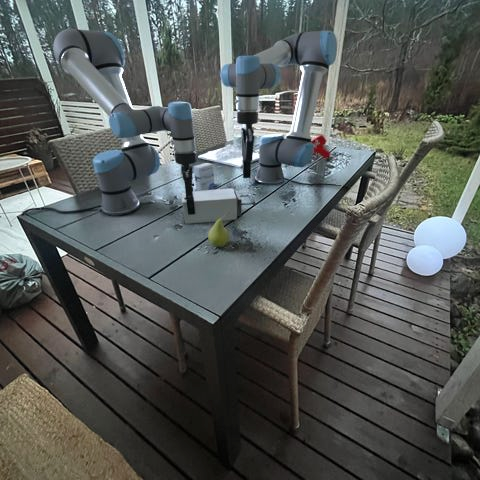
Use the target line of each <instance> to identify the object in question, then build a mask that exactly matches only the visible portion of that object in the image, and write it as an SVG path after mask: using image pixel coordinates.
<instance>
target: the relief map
mask: <svg viewBox="0 0 480 480" xmlns="http://www.w3.org/2000/svg"><path fill="white" fill-rule="evenodd" d="M197 158H198V159H202V160H206V161H210V162H213V163H218V164H223V165H226V166H227V165H228V166H232V167H235V168H236V167H237V168H243V162H242V160H243V157H242V148H239V147H237V145H236V144H234V143H233V144H231V143H229V144H227V145H226V146H223V147H221V148H218V149H216V150H209V151H207V152H206V153H203V154H200V155H198V156H197ZM257 161H259V153H257V152H254V151H253V156H252V161H251V164H252V163H254V162H257Z"/></svg>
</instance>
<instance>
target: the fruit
mask: <svg viewBox="0 0 480 480" xmlns="http://www.w3.org/2000/svg"><path fill="white" fill-rule="evenodd" d="M228 214H229V212H228V213H227V214H226V215H225V216H227V215H228ZM225 216H224V217H225ZM224 217H222V218H220V219H219V220H217V221H215V223H214V224H213V226H212V227H211V229H209V231H208V234H207V238H208V241H209V243H210V244H211V245H212V246H213V247H215V248H222V247H225V245H227V243H228V241H229V239H230V233H229V231H228V230H227V229H226V228H225V227H224V224H223V223H224V222H223V218H224Z"/></svg>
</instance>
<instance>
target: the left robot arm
mask: <svg viewBox="0 0 480 480" xmlns="http://www.w3.org/2000/svg"><path fill="white" fill-rule="evenodd" d="M52 49H53V55H54V57H55V60H56V62H57V64H58V65H59V66H60V68H61V69H62V70H63V71H64V72H65V74H67V75H68V76H70V77H73V78H74V79H75V80H76V82H78V84H79V85H80V86H81V87H82V88H83V89H84V90H85V91H86V92H87V94H88V95H89V96H90V97H91V98H92V99H93V101H95V102H96V104H97V105H98V106H99V107H100V108H101V109H102V110H103V112H104V113H105V114H106V115H107V116H108V124H109V127H110V129H111V132H112V133H113V135H114V136H115V137H117V138H118V139H120V140H121V142H122V145H121V147H120V149H111V150H105V151H103V152H100V153H98V154H96V155H95V156H94V157H93V159H92V165H93V172H94V173H95V176H96V179H97V183H98V185H99V189H100V192H101V201H100V202H101V204H98V205H94V206H90V207H86V208H81V209H75V210H59V209H56V208H54V207H50V206H49V207H47V206H46V207H31V208H27V209H25V210H24V211H23V212H21V214H20V216H24V215H26V214H27V213H28V212H33V211H45V210H49V211H54V212H56V213H59V214H76V213H81V212H87V211H92V210H94V209H98V208H100V209H101V211H102V213H103V215H106V216H108V217H109V216H110V217H119V216H120V217H121V216H125V215H128V214H131V213H134V212H136V211H138V209H139V208H140V207H141V205H140V200H139V199H138V197H137V196H136V194H135V192H134V190H133V189H132V185H131V182H133V181H135V180H138V179H142V178H145V177H149V176H151V175H153V174H156V173H158V171H159V169H160V166H161V159H160V158H161V157H160V154H159V152H158V150H157V149H156V148H155V147H154V146H152V145H150V143H149V141H148V140H146V139H145V138H144V137H143V135H146V134H153V133H158V132H165V131H166V132H170V133H171V139H172V141H171V143H170V144H171V146H173V151H174V154H173V155H174V161H175V163H176V164H178V165H181V168H180V169H181V174H182V181H183V182H184V192H186V198H184V200H186V201H187V209H188V215H192V214H195V206H194V197H193V191H194V187H195V182H193V179H194V178H193V173H194V169H193V165H194V164H195V163H197V151H196V150H197V149H196V137H195V130H194V116H193V110H192V105H191V103H189V102H187V101H172V102H169V103H168V104H167V107H164V106H160V105H155V106H154V105H152V106H150V107H147V108H144V109H142V108H141V109H134V107H133V105H132V102H131V99H130V97H129V93H128V91H127V89H126V85H125V82H124V80H123V78H122V77H123V76H122V75H123V72H124V68H123V67H124V66H125V65H126V64H125V63H126V59H125V52H124V48H123V46H122V44H121V42H120V40H119V39H118V38H117V37H116V35H114V34H112V33H111V32H108V31H103V30H89V29H80V28H79V29H76V28H66V29H63V30H61V31H60V32H58V34H57V35H56V36H55V37H54V41H53V47H52ZM191 164H192V165H191ZM40 208H41V209H40Z"/></svg>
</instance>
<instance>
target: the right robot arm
mask: <svg viewBox="0 0 480 480" xmlns="http://www.w3.org/2000/svg"><path fill="white" fill-rule="evenodd" d="M337 53H338V41H337V37H336V34H335V32H334V31H332V30H324V29H322V30H315V31H303V32H301V31H300V32H296V33H293V34H291V35H289V36H286V37H284V38H282V39H279V40H277V41H276V42H274V45H273V46H271V47H269V48H267V49H264V50H263V51H260V52H258V53H256V54H254V55H239V56H237V57H236V60H235V63H226V64H224V65H223V66H222V67H221V69H220V76H219V77H220V81H221V83H222V85H223V86H224V87H226V88H231V89H233V88H234V89H235V91H236V93H235V96H236V97H235V98H236V99H234V103H235V106H236V107H235V108H236V110H237V111H236V114H235V116H236V118H235V120H236V123H237V124H239V125H242V127H241V128H240V138H241V139H240V140H241V150H242V157H243V160H242V162H243V166H242V178H243V179H251V174H252V163H251V161H252V156H253V152H254V144H255V143H254V142H255V135H254V133H255V130H254V128H253V125H256V124H258V122H259V111H258V110H259V109H260V108H259V107H260V106H259V105H260V90H270V89H273V88H276V87H277V86H278V85H279V84H280V82H281V79H282V72H281V69H280V68H283V67H286V66H299V69H300V71H301V72H302V74H301V79H300V84H299V89H298V94H297V100H296V104H295V109H294V114H293V120H292V123H291V129H290V131H289V132H288V133H287V134H286V138H285V135H284V134H283V133H271V134H266V135H263V136H261V137H260V139H259V153H258V154H259V160H258V167H257V170H256V173H255V177H254V181H255V183H258V184H259V185H262V186H263V185H264V186H279V185H281V184H283V183H284V181H288V182H291V183H294V184H298V185H302V186H332V187H333V186H334V187H342V186H341V185H336V184H337V183H326V182H325V183H324V182H323V183H322V182H318V183H316V182H315V183H304V182H299V181H295V180H292V179H290V178H286V177H285V175H284V172H283V171H284V170H283V167H282V165H287V166H291V167H294V168H304V167H306V166H307V165H308V164H309V163H310V161H311V160H312V158H313V156H314V155H313V152H314V144H313V143H312V142H311V141H312V140H313V139H312V136H311V133H310V132H311V128H312V125H313V121H314V115H315V111H316V107H317V101H318V97H319V93H320V89H321V85H322V80H323V76H324V75H325V74H327V72H328V70H329V66H331V65H333V64H334V63H335V61H336V58H337ZM314 153H315V152H314ZM343 185H344V186H343V187H344V188H345V189H347V190H349V187H348V186H347V185H345V184H343Z"/></svg>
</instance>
